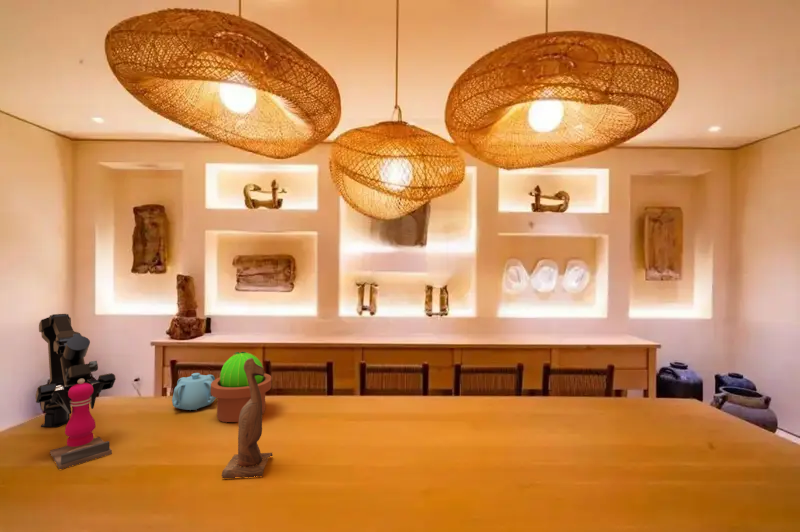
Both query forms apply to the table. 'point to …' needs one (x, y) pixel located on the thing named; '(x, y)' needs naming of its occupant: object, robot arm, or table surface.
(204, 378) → the decorative pot
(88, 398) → the pepper mill
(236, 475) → the bird sculpture
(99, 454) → the flat brown board
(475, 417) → the table surface
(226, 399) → the potted cactus
